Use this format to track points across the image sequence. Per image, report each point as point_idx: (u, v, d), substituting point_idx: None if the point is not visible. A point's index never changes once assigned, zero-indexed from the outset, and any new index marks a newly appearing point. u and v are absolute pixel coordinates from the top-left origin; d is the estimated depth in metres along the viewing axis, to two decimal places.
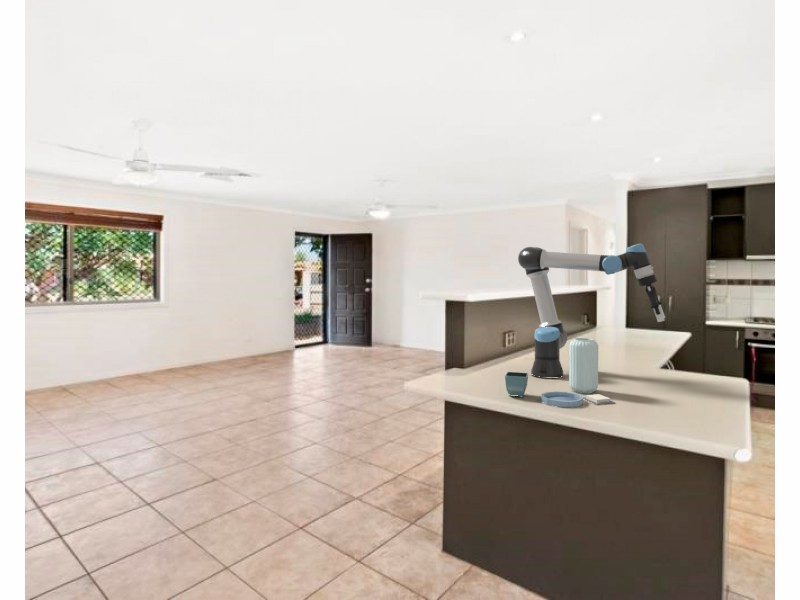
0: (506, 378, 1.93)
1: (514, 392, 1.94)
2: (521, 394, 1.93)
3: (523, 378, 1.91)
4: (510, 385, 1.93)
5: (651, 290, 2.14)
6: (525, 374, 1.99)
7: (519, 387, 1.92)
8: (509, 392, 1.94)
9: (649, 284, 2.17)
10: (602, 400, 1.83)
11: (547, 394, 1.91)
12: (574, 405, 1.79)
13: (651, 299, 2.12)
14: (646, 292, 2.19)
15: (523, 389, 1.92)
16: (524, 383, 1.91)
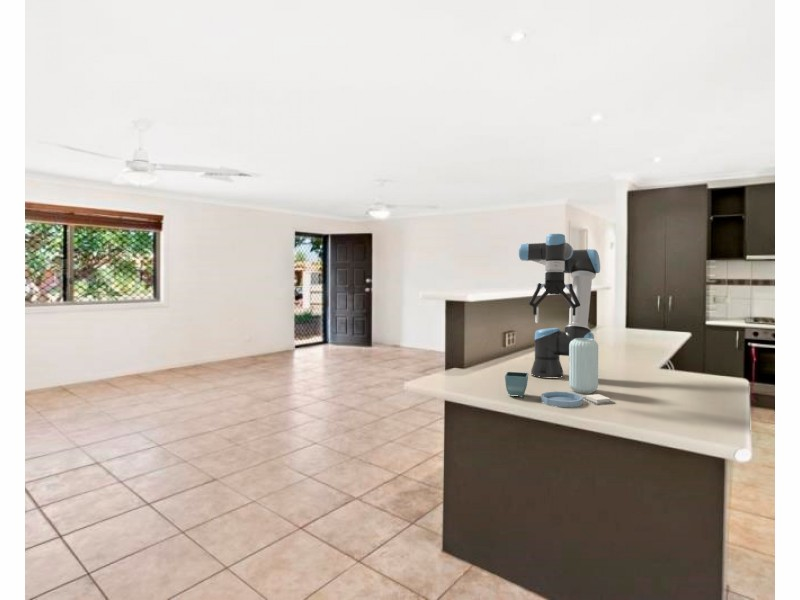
0: (506, 378, 1.93)
1: (514, 392, 1.94)
2: (521, 394, 1.93)
3: (523, 378, 1.91)
4: (510, 385, 1.93)
5: (537, 288, 1.95)
6: (525, 374, 1.99)
7: (519, 387, 1.92)
8: (509, 392, 1.94)
9: (545, 281, 1.95)
10: (602, 400, 1.83)
11: (547, 394, 1.91)
12: (574, 405, 1.79)
13: (532, 297, 1.97)
14: None
15: (523, 389, 1.92)
16: (524, 383, 1.91)
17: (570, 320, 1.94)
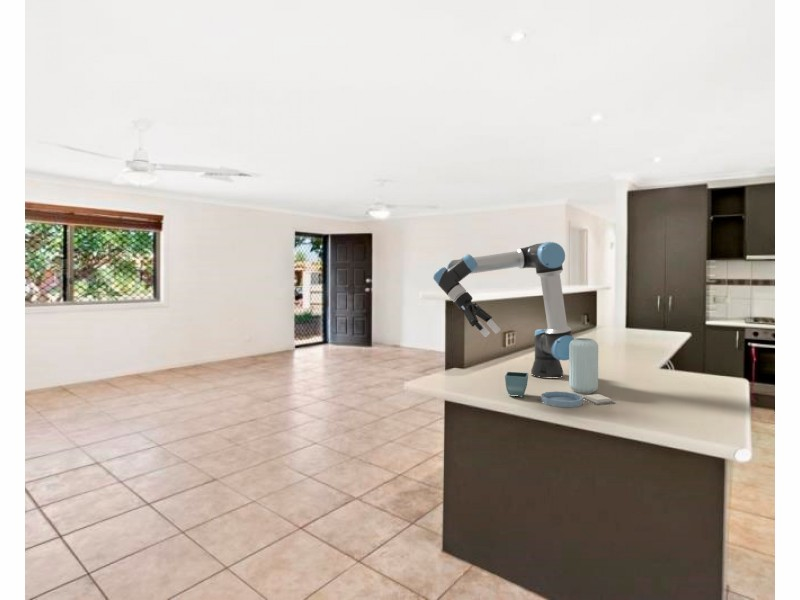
0: (506, 378, 1.93)
1: (514, 392, 1.94)
2: (521, 394, 1.93)
3: (523, 378, 1.91)
4: (510, 385, 1.93)
5: None
6: (525, 374, 1.99)
7: (519, 387, 1.92)
8: (509, 392, 1.94)
9: None
10: (602, 400, 1.83)
11: (547, 394, 1.91)
12: (574, 405, 1.79)
13: None
14: (475, 306, 2.06)
15: (523, 389, 1.92)
16: (524, 383, 1.91)
17: None
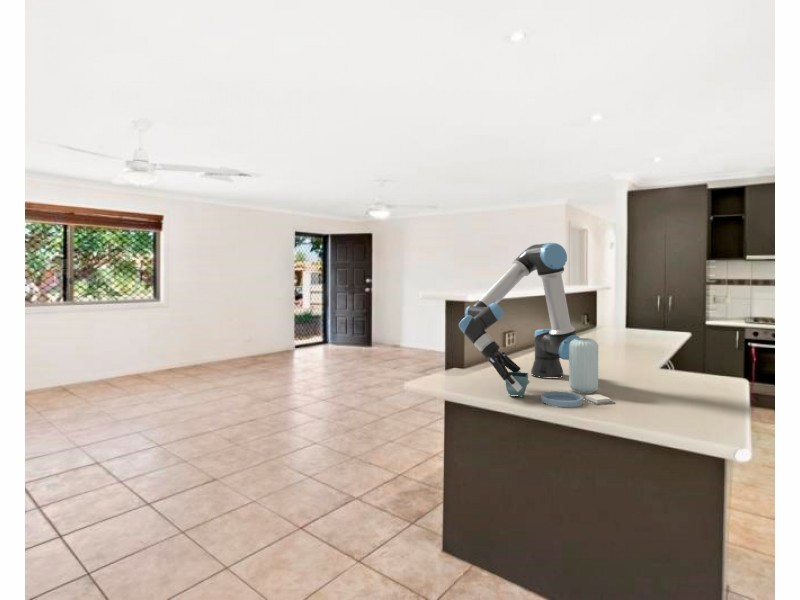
0: None
1: (514, 392, 1.94)
2: (521, 394, 1.93)
3: (523, 378, 1.91)
4: (510, 385, 1.93)
5: None
6: (525, 374, 1.99)
7: None
8: (509, 392, 1.94)
9: None
10: (602, 400, 1.83)
11: (547, 394, 1.91)
12: (574, 405, 1.79)
13: None
14: (503, 355, 2.00)
15: (523, 389, 1.92)
16: (524, 383, 1.91)
17: None
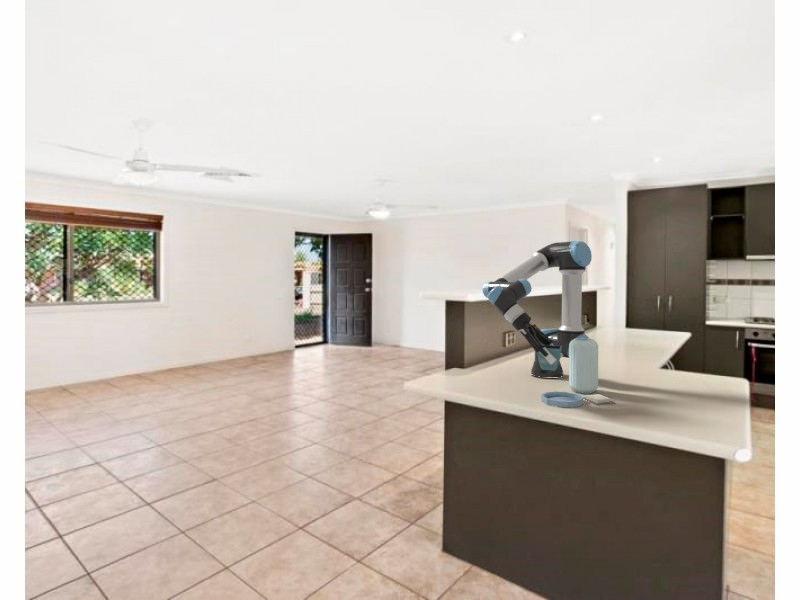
0: None
1: (547, 365, 1.84)
2: (554, 367, 1.83)
3: (557, 350, 1.81)
4: (542, 358, 1.84)
5: None
6: (558, 347, 1.89)
7: None
8: (541, 365, 1.85)
9: None
10: (602, 400, 1.83)
11: (547, 394, 1.91)
12: (574, 405, 1.79)
13: None
14: (535, 327, 1.91)
15: (556, 362, 1.82)
16: (558, 355, 1.82)
17: None
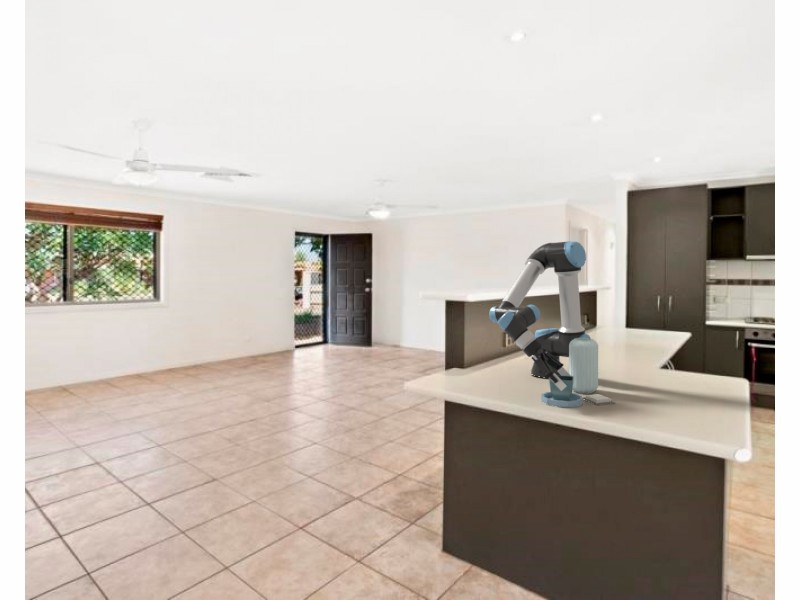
0: (551, 382, 1.83)
1: (559, 396, 1.83)
2: (567, 399, 1.82)
3: (569, 382, 1.80)
4: (555, 390, 1.83)
5: None
6: (570, 377, 1.88)
7: (565, 392, 1.82)
8: (554, 396, 1.84)
9: None
10: (602, 400, 1.83)
11: (547, 394, 1.91)
12: (574, 405, 1.79)
13: None
14: (546, 353, 1.90)
15: (569, 393, 1.81)
16: (570, 387, 1.81)
17: None
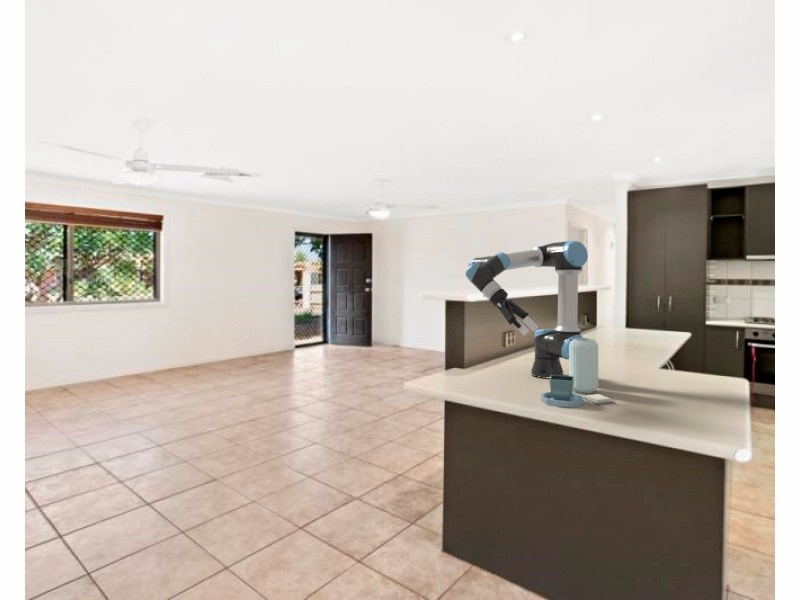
0: (551, 382, 1.83)
1: (559, 397, 1.83)
2: (567, 399, 1.82)
3: (569, 382, 1.80)
4: (555, 390, 1.83)
5: None
6: (570, 377, 1.88)
7: (565, 392, 1.82)
8: (554, 396, 1.84)
9: None
10: (602, 400, 1.83)
11: (547, 394, 1.91)
12: (574, 405, 1.79)
13: None
14: (511, 302, 1.96)
15: (569, 393, 1.81)
16: (570, 387, 1.81)
17: None
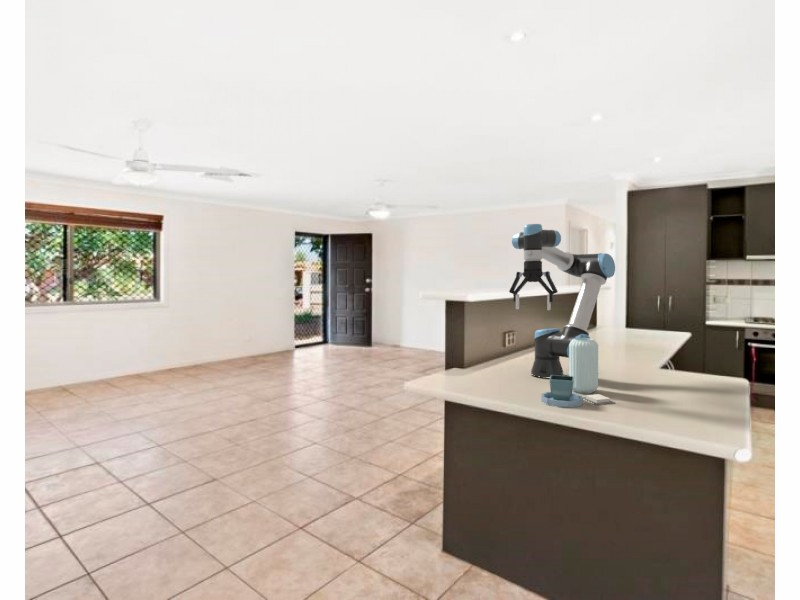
0: (551, 382, 1.83)
1: (559, 397, 1.83)
2: (567, 399, 1.82)
3: (569, 382, 1.80)
4: (555, 390, 1.83)
5: None
6: (570, 377, 1.88)
7: (565, 392, 1.82)
8: (554, 396, 1.84)
9: None
10: (602, 400, 1.83)
11: (547, 394, 1.91)
12: (574, 405, 1.79)
13: None
14: None
15: (569, 393, 1.81)
16: (570, 387, 1.81)
17: None
